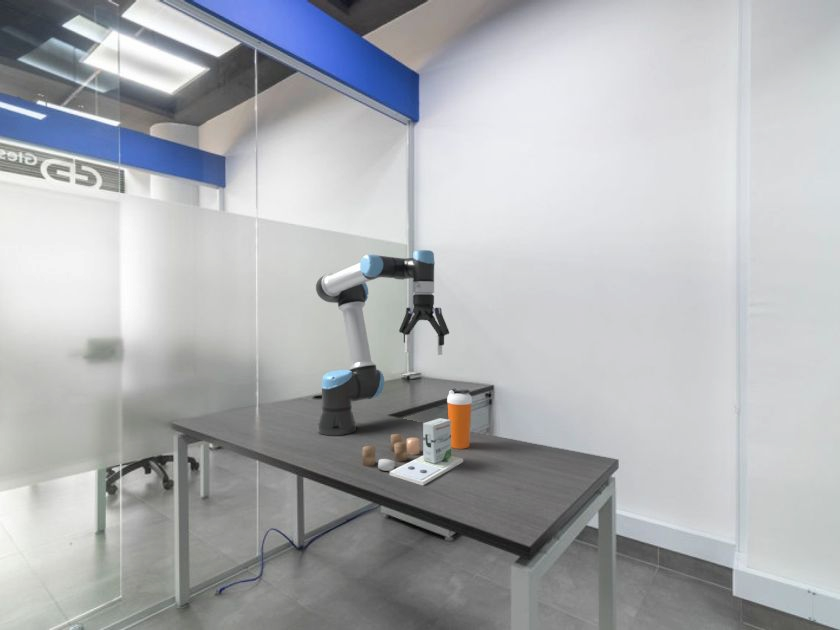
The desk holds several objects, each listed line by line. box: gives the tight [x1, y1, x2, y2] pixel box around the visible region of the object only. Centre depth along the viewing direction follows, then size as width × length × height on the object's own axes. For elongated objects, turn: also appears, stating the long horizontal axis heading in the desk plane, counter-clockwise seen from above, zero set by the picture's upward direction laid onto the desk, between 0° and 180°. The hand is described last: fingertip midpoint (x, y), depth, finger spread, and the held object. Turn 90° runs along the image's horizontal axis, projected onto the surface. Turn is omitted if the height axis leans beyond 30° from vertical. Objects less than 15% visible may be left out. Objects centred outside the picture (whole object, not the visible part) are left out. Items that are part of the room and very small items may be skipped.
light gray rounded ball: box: [377, 458, 396, 472], centre depth 126 cm, size 5×5×2 cm
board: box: [389, 455, 464, 486], centre depth 127 cm, size 12×22×1 cm, turn 144°
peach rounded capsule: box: [406, 436, 421, 456], centre depth 140 cm, size 4×4×4 cm
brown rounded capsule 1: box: [390, 433, 403, 453], centre depth 143 cm, size 4×4×5 cm
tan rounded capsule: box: [361, 445, 376, 467], centre depth 130 cm, size 4×4×5 cm
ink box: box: [422, 418, 452, 464], centre depth 131 cm, size 9×5×12 cm, turn 137°
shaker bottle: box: [446, 388, 473, 450], centre depth 148 cm, size 9×9×20 cm
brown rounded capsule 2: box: [394, 441, 409, 463], centre depth 134 cm, size 4×4×5 cm
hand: (423, 353), depth 148 cm, fingers open, 13 cm apart
